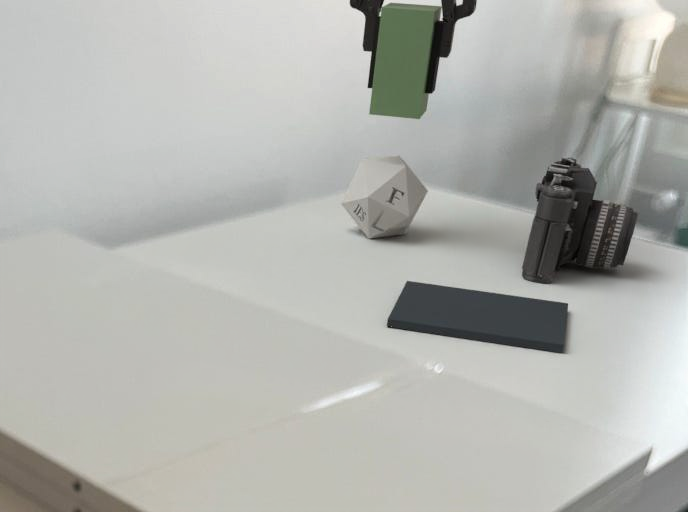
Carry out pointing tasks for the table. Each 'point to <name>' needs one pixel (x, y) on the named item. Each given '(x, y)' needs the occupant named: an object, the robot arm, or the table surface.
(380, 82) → the green block
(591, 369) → the table surface
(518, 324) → the mat
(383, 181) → the die
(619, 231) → the camera
